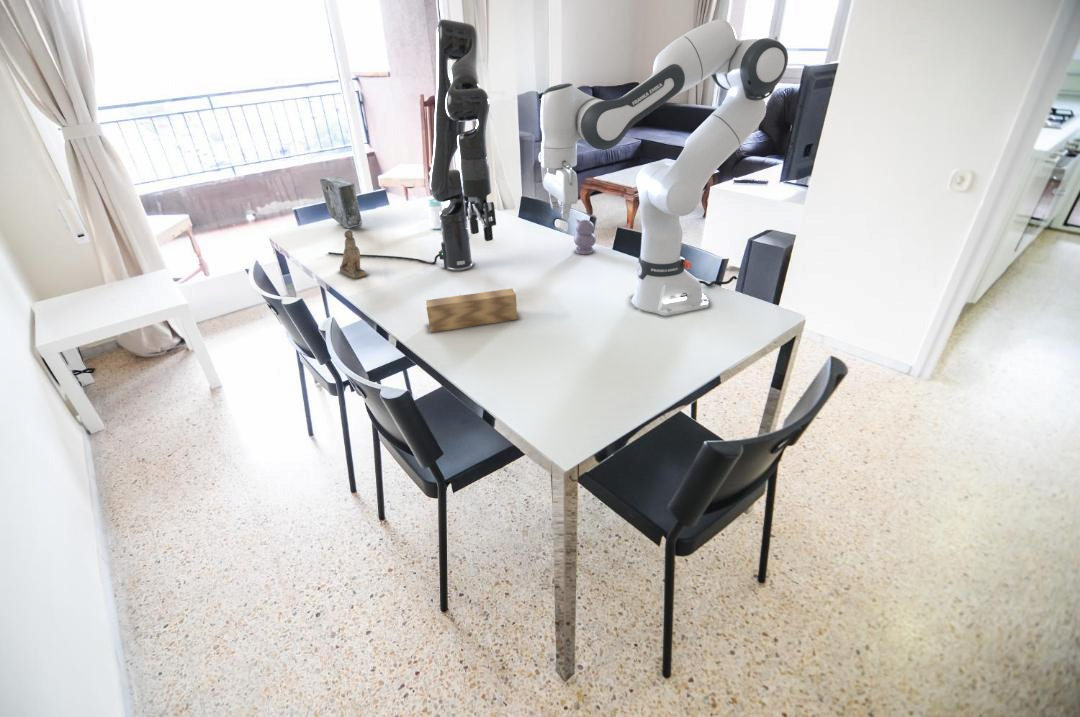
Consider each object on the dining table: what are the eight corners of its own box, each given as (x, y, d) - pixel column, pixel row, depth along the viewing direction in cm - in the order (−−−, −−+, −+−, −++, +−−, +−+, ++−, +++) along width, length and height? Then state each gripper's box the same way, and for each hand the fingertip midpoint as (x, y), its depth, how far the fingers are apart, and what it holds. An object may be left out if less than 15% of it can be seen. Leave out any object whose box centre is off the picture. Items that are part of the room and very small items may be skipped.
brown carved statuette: (368, 281, 178) (362, 235, 166) (353, 285, 175) (347, 238, 163) (352, 266, 184) (346, 221, 172) (338, 270, 181) (331, 224, 169)
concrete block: (367, 229, 224) (357, 183, 213) (347, 233, 220) (336, 187, 209) (348, 217, 243) (338, 174, 232) (330, 221, 238) (318, 177, 228)
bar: (430, 332, 138) (426, 306, 134) (429, 325, 142) (425, 300, 138) (517, 319, 143) (515, 294, 139) (514, 312, 147) (512, 288, 143)
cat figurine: (599, 250, 190) (600, 219, 183) (587, 256, 185) (587, 224, 178) (582, 246, 195) (582, 215, 188) (569, 251, 190) (569, 220, 184)
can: (445, 229, 220) (441, 202, 214) (429, 230, 220) (425, 202, 214) (447, 224, 226) (444, 198, 220) (432, 225, 226) (428, 198, 220)
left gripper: (501, 177, 126) (506, 240, 134) (476, 170, 136) (482, 228, 144) (474, 182, 122) (481, 246, 131) (450, 174, 133) (458, 233, 141)
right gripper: (584, 164, 116) (584, 223, 123) (559, 151, 133) (560, 203, 140) (559, 166, 115) (559, 225, 122) (536, 153, 132) (538, 205, 139)
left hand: (481, 236), depth 137 cm, fingers open, 8 cm apart
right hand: (559, 213), depth 131 cm, fingers open, 8 cm apart
